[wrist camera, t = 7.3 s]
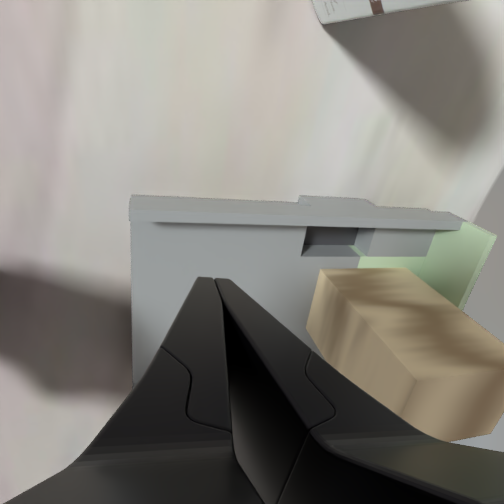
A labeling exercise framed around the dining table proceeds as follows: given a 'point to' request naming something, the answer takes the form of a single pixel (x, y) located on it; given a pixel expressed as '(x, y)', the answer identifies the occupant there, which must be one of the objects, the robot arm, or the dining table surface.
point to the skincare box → (366, 8)
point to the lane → (284, 254)
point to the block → (409, 350)
